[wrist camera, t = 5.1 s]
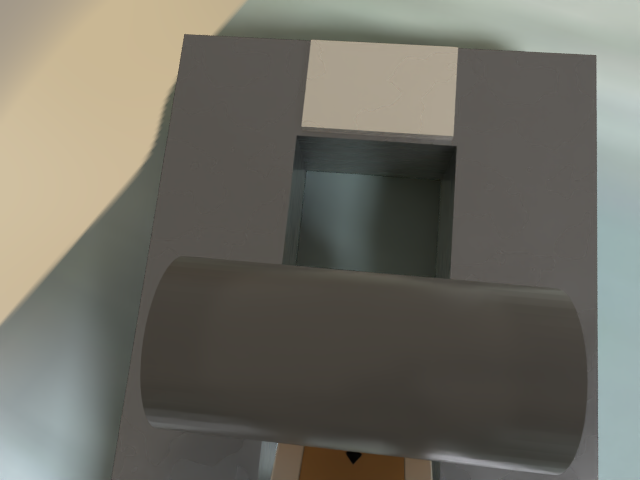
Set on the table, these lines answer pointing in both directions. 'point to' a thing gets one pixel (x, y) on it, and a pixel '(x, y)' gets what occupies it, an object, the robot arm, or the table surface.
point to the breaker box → (382, 160)
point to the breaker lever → (367, 363)
